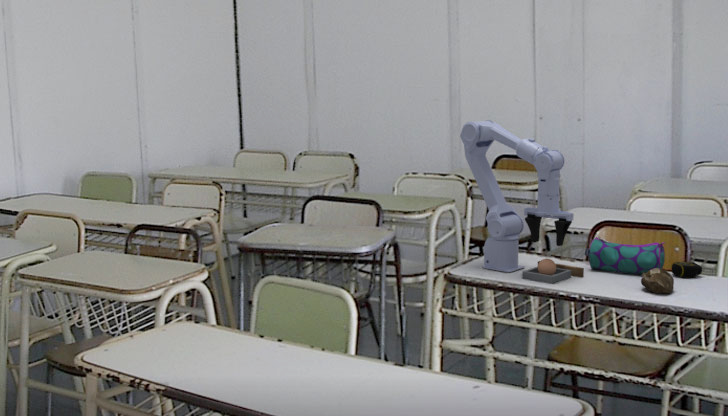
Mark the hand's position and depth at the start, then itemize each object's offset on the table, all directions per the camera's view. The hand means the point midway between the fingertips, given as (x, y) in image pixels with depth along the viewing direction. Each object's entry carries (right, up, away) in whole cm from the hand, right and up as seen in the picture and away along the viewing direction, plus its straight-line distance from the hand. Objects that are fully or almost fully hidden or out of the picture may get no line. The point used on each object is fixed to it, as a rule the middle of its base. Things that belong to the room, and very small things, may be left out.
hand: (547, 243), depth 231 cm
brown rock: (+25, -12, -15) cm, 31 cm away
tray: (0, -10, 0) cm, 10 cm away
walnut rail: (+5, -9, +5) cm, 11 cm away
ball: (0, -7, 0) cm, 7 cm away
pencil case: (+23, -9, +6) cm, 25 cm away
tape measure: (+38, -9, 0) cm, 39 cm away
